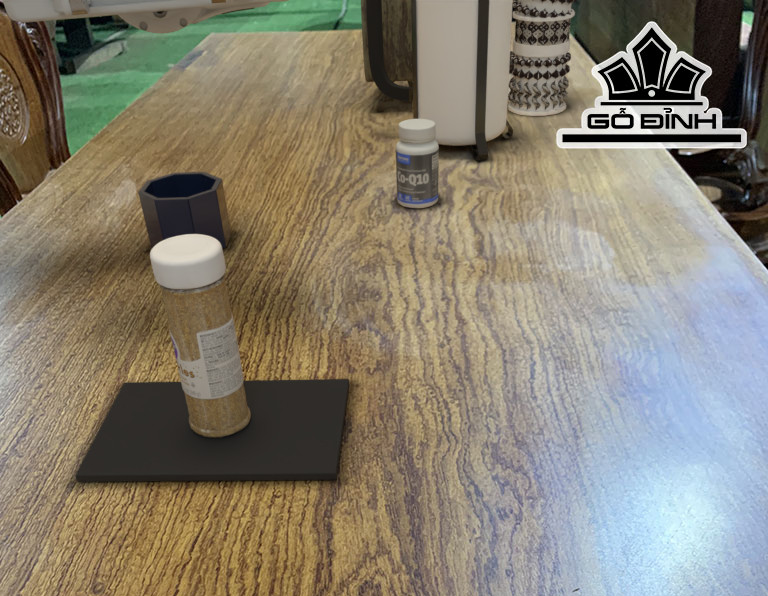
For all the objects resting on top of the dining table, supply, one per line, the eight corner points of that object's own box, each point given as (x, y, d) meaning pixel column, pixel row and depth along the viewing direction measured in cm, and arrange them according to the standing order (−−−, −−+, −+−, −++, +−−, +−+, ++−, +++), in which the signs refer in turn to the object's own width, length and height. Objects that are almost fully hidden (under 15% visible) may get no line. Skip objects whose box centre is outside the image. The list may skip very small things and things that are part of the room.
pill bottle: (392, 207, 93) (389, 128, 88) (403, 192, 97) (401, 116, 91) (432, 210, 92) (432, 130, 86) (443, 195, 95) (443, 117, 90)
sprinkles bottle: (180, 419, 61) (136, 244, 52) (235, 398, 63) (202, 225, 54) (207, 448, 58) (165, 267, 50) (263, 425, 60) (233, 247, 51)
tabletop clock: (376, 89, 132) (367, -105, 116) (432, 88, 131) (432, -108, 115) (366, 115, 121) (355, -95, 105) (428, 114, 120) (426, -99, 104)
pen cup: (145, 259, 85) (131, 200, 81) (164, 228, 91) (152, 173, 87) (221, 257, 85) (211, 198, 81) (235, 226, 91) (226, 170, 87)
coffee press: (490, 120, 117) (500, -152, 97) (534, 154, 105) (556, -148, 85) (371, 136, 114) (356, -142, 94) (403, 172, 102) (394, -137, 82)
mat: (77, 482, 57) (74, 475, 57) (125, 388, 66) (123, 382, 66) (336, 480, 56) (335, 473, 56) (349, 385, 65) (348, 378, 65)
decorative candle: (550, 120, 116) (568, -102, 99) (493, 111, 120) (501, -103, 104) (580, 104, 121) (602, -109, 105) (524, 96, 125) (537, -110, 109)
